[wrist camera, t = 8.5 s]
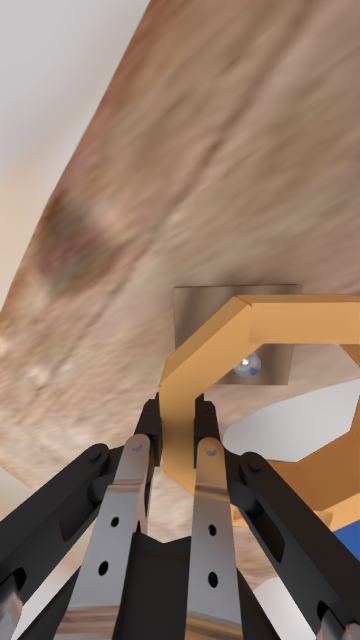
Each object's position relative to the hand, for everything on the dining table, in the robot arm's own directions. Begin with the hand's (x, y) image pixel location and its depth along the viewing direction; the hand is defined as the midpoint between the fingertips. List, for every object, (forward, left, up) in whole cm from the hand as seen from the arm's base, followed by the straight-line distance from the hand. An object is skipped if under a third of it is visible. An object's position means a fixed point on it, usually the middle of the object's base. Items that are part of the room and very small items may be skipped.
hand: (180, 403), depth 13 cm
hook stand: (-7, +1, -18) cm, 19 cm away
